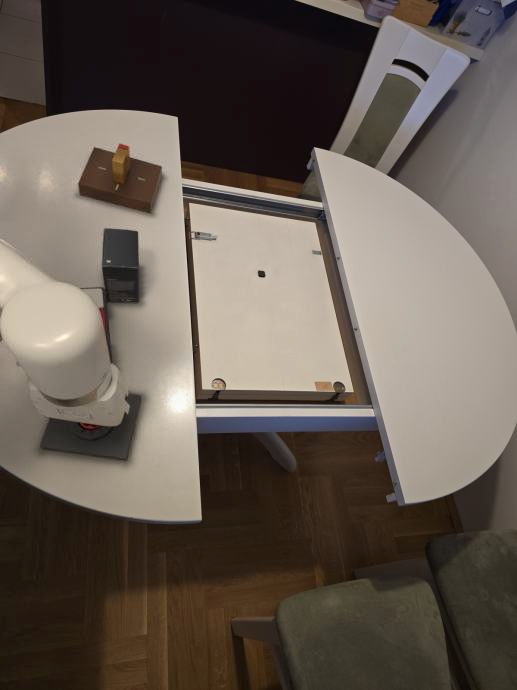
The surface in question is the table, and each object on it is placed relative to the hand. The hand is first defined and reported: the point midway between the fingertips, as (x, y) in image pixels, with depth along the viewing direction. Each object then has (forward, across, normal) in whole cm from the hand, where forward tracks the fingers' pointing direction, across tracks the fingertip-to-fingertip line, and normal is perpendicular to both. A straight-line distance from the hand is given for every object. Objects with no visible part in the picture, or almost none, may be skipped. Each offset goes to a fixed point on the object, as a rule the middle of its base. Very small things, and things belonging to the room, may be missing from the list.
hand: (93, 416), depth 57 cm
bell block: (+4, 0, 0) cm, 4 cm away
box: (+4, -2, +26) cm, 26 cm away
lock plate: (+4, -8, +50) cm, 51 cm away
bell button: (+2, 0, 0) cm, 2 cm away
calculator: (+4, -7, +14) cm, 16 cm away
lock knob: (+1, -8, +50) cm, 51 cm away
